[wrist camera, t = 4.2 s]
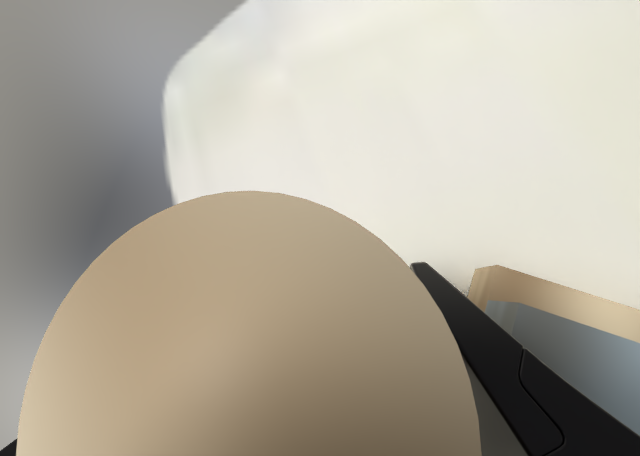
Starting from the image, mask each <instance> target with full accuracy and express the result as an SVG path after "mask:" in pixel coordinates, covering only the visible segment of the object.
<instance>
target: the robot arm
mask: <svg viewBox="0 0 640 456" xmlns="http://www.w3.org/2000/svg"><path fill="white" fill-rule="evenodd" d="M410 269H411V270H412V271H413V273H414V274H415V275H416V276H417V277H418V279H419V280H420V281H421V282H422V283H423V284H424V286H425V288H426V289H427V291H428V292H429V294H430V295H431V297H432V298H433V300H434V301H435V303H436V304H437V306H438V307H439V309H440V311H441V312H442V314H443V316H444V318H445V320H446V322H447V324H448V326H449V328H450V330H451V332H452V334H453V336H454V338H455V340H456V342H457V344H458V347H459V350H460V353H461V356H462V359H463V361H464V364H465V367H466V370H467V373H468V376H469V379H470V382H471V387H472V391H473V396H474V401H475V405H476V410H477V414H478V420H479V431H480V442H481V452H482V456H640V435H638V434H637V433H635V432H634V431H633V430H631V429H630V428H629V427H627V426H626V425H625V424H623V423H622V422H620V421H619V420H618V419H616V418H615V417H614V416H612V415H611V414H609V413H608V412H607V411H605V410H604V409H603V408H601V407H600V406H599V405H597V404H596V403H594V402H593V401H592V400H590V399H589V398H588V397H587V396H585V395H584V394H583V393H581V392H580V391H579V390H577V389H576V388H575V387H573V386H572V385H571V384H569V383H568V382H567V381H565V380H564V379H563V378H562V377H560V376H559V375H558V374H557V373H556V372H554V371H553V370H552V369H551V368H549V367H548V366H547V365H546V364H545V363H543V362H542V361H541V360H540V359H539V358H537V357H536V356H535V355H534V354H533V353H532V352H530V351H529V350H528V349H527V348H524V346H523V345H522V344H521V343H520V342H518V341H517V340H516V339H515V338H514V337H513V336H511V335H510V334H509V333H508V332H507V331H506V330H504V329H503V328H502V327H501V326H500V325H499V324H497V323H496V322H495V321H494V320H493V319H492V318H490V317H489V316H488V315H487V314H486V313H485V312H483V311H482V310H481V309H480V308H479V307H477V306H476V305H475V304H474V303H473V302H472V301H470V300H469V299H468V298H467V297H466V296H465V295H463V294H462V293H461V292H460V291H459V290H458V289H456V288H455V287H454V286H453V285H452V284H451V283H449V282H448V281H447V280H446V279H445V278H444V277H442V276H441V275H440V274H439V273H438V272H437V271H435V270H434V269H433V268H432V267H431V266H429V265H428V264H427V263H425V262H418V263H412V264H411V265H410ZM523 348H524V349H523ZM17 439H18V438H17ZM17 439H16V440H14V441H13V442H12V443H10V444H9V445H8V446H6V447H5V448H4V449H2V450H1V451H0V456H16V449H17Z"/></svg>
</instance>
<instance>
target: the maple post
mask: <svg viewBox="0 0 640 456" xmlns="http://www.w3.org/2000/svg"><path fill="white" fill-rule="evenodd" d="M16 456H482V452H481V442H480V431H479V420H478V414H477V410H476V405H475V401H474V396H473V391H472V387H471V382H470V379H469V376H468V373H467V370H466V367H465V364H464V361H463V359H462V356H461V353H460V350H459V347H458V344H457V342H456V340H455V338H454V336H453V334H452V332H451V330H450V328H449V326H448V324H447V322H446V320H445V318H444V316H443V314H442V312H441V311H440V309H439V307H438V306H437V304H436V303H435V301H434V300H433V298H432V297H431V295H430V294H429V292H428V291H427V289H426V288H425V286H424V284H423V283H422V282H421V281H420V280H419V279H418V277H417V276H416V275H415V274H414V273H413V271H412V270H411V269H410V268H409V267H408V266H407V264H406V263H405V262H404V261H403V260H402V259H401V258H400V257H399V256H398V255H397V254H396V253H395V252H394V251H393V250H392V249H390V248H389V247H388V246H387V245H386V244H385V243H384V242H383V241H382V240H381V239H379V238H378V237H377V236H375V235H374V234H372V233H371V232H370V231H368V230H367V229H365V228H364V227H362V226H361V225H360V224H358V223H357V222H355V221H353V220H352V219H350V218H348V217H346V216H344V215H342V214H340V213H338V212H336V211H334V210H333V209H331V208H328V207H325V206H323V205H320V204H317V203H314V202H312V201H309V200H306V199H303V198H298V197H294V196H289V195H285V194H281V193H272V192H260V191H238V192H224V193H219V194H213V195H207V196H202V197H199V198H195V199H192V200H189V201H186V202H182V203H179V204H177V205H174V206H172V207H170V208H168V209H166V210H163V211H161V212H159V213H157V214H155V215H153V216H151V217H150V218H148V219H146V220H145V221H143V222H141V223H140V224H138V225H136V226H135V227H133V228H132V229H130V230H129V231H128V232H127V233H125V234H124V235H122V236H121V237H120V238H119V239H117V240H116V241H115V242H113V243H112V244H111V245H110V246H109V247H108V248H107V249H106V250H105V251H104V252H103V253H102V254H101V255H100V256H99V257H98V258H97V259H95V260H94V261H93V262H92V264H91V265H90V266H89V267H88V268H87V270H86V271H85V272H84V273H83V274H82V276H81V277H80V278H79V279H78V280H77V282H76V283H75V284H74V286H73V287H72V289H71V290H70V292H69V293H68V295H67V296H66V297H65V299H64V300H63V302H62V303H61V305H60V306H59V308H58V310H57V312H56V314H55V316H54V318H53V319H52V321H51V323H50V325H49V327H48V329H47V331H46V333H45V335H44V337H43V340H42V342H41V345H40V347H39V350H38V352H37V354H36V357H35V359H34V363H33V366H32V370H31V372H30V376H29V379H28V383H27V386H26V389H25V394H24V399H23V404H22V409H21V414H20V419H19V429H18V439H17V449H16Z"/></svg>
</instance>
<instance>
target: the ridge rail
mask: <svg viewBox="0 0 640 456" xmlns="http://www.w3.org/2000/svg"><path fill="white" fill-rule="evenodd" d="M467 298H468V299H469V300H470V301H472V302H473V303H474V304H475V305H476V306H477V307H479V308H480V309H481V310H482V311H483V312H485V313H486V314H487V315H488V316H489V317H490V318H492V319H493V320H494V321H495V322H496V323H497V324H499V325H500V326H501V327H502V328H503V329H504V330H506V331H507V332H508V333H509V334H510V335H511V336H513V337H514V338H515V339H516V340H517V341H518V342H520V343H521V344H522V345H523V346H524V348H527V349H528V350H529V351H530V352H532V353H533V354H534V355H535V356H536V357H537V358H539V359H540V360H541V361H542V362H543V363H545V364H546V365H547V366H548V367H549V368H551V369H552V370H553V371H554V372H556V373H557V374H558V375H559V376H560V377H562V378H563V379H564V380H565V381H567V382H568V383H569V384H571V385H572V386H573V387H575V388H576V389H577V390H579V391H580V392H581V393H583V394H584V395H585V396H587V397H588V398H589V399H590V400H592V401H593V402H594V403H596V404H597V405H599V406H600V407H601V408H603V409H604V410H605V411H607V412H608V413H609V414H611V415H612V416H614V417H615V418H616V419H618V420H619V421H620V422H622V423H623V424H625V425H626V426H627V427H629V428H630V429H631V430H633V431H634V432H635V433H637V434H638V435H640V310H638V309H635V308H632V307H629V306H625V305H622V304H619V303H616V302H613V301H610V300H606V299H603V298H600V297H597V296H594V295H591V294H588V293H584V292H581V291H578V290H575V289H572V288H569V287H565V286H562V285H559V284H556V283H553V282H550V281H546V280H543V279H540V278H537V277H534V276H531V275H528V274H524V273H521V272H518V271H515V270H512V269H509V268H505V267H502V266H499V265H494V266H489V267H484V268H479V269H475V272H474V275H473V279H472V283H471V286H470V290H469V293H468V297H467ZM524 348H523V349H524Z"/></svg>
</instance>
